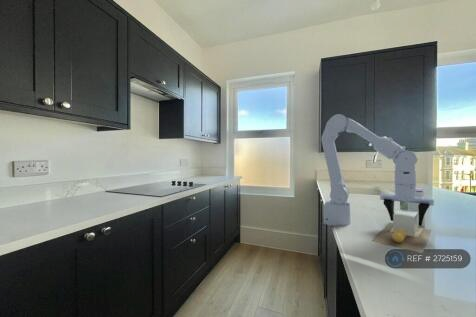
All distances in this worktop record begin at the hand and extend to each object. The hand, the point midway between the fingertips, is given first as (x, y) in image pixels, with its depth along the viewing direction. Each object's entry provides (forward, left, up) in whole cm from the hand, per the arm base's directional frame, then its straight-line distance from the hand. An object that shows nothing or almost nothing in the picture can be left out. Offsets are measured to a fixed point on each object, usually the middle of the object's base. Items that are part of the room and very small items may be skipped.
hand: (405, 222), depth 72 cm
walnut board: (0, -6, -4) cm, 7 cm away
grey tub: (0, 0, -3) cm, 3 cm away
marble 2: (0, -14, -1) cm, 14 cm away
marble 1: (0, -10, -1) cm, 10 cm away
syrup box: (0, +13, -4) cm, 14 cm away
